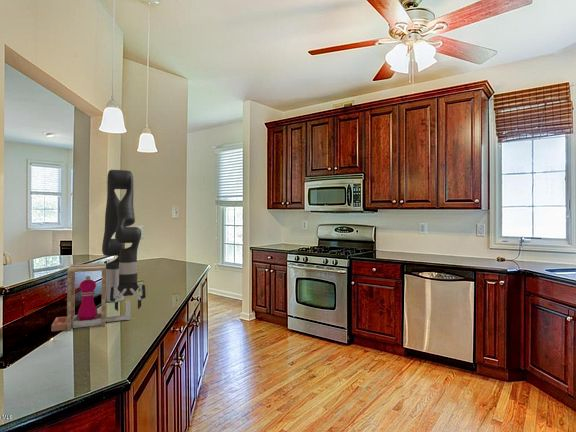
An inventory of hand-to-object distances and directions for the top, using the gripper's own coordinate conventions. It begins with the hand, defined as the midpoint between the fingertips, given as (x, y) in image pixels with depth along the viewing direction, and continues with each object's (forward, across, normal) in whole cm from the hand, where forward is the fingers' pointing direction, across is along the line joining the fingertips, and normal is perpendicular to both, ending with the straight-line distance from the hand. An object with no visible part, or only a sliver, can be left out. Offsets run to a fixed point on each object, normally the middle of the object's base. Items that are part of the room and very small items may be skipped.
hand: (128, 309), depth 157 cm
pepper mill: (+5, +16, 0) cm, 16 cm away
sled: (+4, +10, 0) cm, 11 cm away
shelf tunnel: (+4, +16, 0) cm, 16 cm away
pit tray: (+4, +25, 0) cm, 25 cm away
